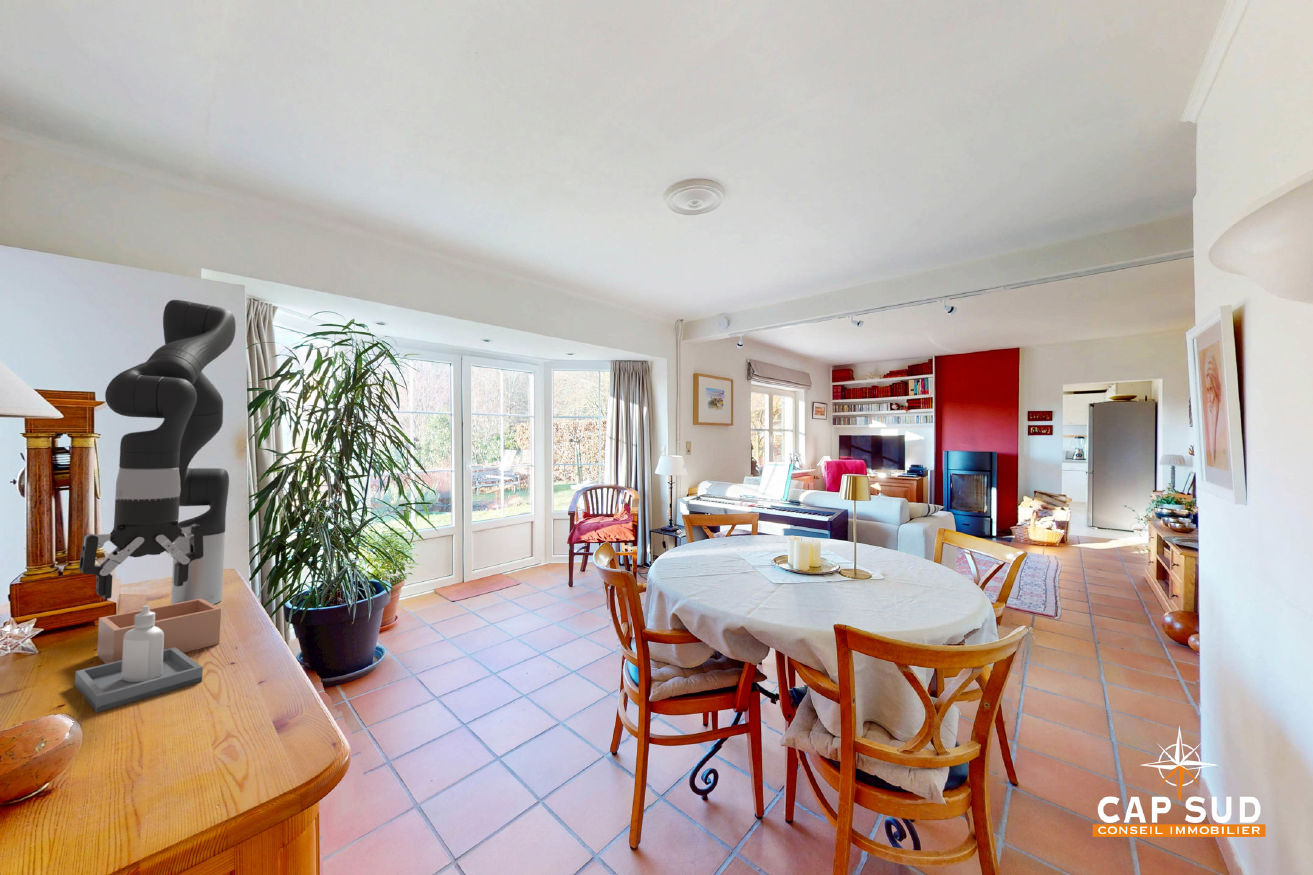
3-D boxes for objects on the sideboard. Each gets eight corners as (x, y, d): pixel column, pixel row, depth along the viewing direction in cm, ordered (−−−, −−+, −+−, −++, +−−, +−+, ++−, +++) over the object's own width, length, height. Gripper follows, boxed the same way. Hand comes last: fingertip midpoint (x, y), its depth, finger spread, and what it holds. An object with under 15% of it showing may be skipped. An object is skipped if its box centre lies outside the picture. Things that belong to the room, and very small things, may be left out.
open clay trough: (97, 655, 92) (99, 617, 92) (199, 631, 104) (201, 598, 104) (112, 670, 86) (114, 630, 86) (219, 643, 98) (220, 608, 99)
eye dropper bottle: (125, 688, 79) (129, 613, 79) (120, 677, 82) (123, 605, 82) (163, 678, 82) (167, 606, 83) (156, 668, 86) (160, 599, 86)
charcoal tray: (74, 685, 81) (75, 671, 81) (174, 659, 91) (175, 646, 91) (96, 712, 73) (97, 696, 73) (201, 681, 83) (202, 666, 84)
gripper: (196, 490, 90) (192, 578, 90) (78, 495, 78) (73, 597, 78) (211, 493, 87) (207, 585, 86) (90, 500, 74) (84, 607, 74)
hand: (143, 591), depth 82 cm, fingers open, 8 cm apart
